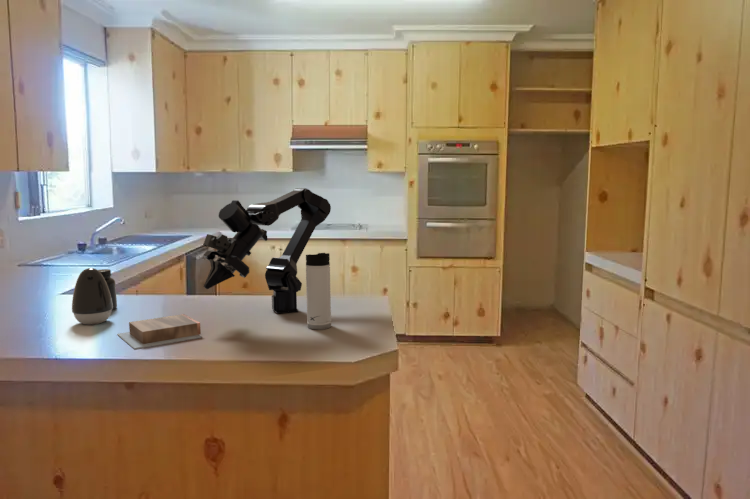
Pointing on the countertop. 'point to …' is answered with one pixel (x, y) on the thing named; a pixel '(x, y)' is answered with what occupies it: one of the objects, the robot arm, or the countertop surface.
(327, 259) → the travel mug
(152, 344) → the mat
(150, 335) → the walnut slab
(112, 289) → the supplement bottle
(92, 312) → the black white egg shape
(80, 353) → the countertop surface
